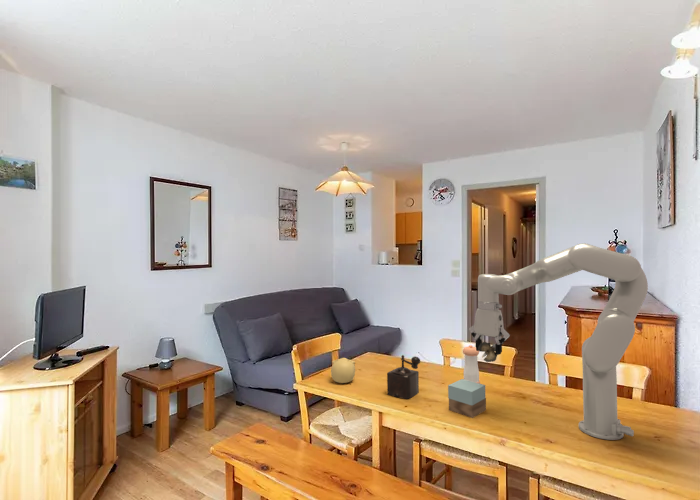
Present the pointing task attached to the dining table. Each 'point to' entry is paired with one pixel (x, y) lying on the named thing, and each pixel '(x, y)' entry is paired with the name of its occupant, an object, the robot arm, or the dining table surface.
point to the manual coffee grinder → (404, 380)
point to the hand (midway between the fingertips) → (488, 351)
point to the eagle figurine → (488, 351)
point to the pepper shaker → (471, 364)
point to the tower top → (466, 392)
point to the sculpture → (343, 370)
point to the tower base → (467, 408)
